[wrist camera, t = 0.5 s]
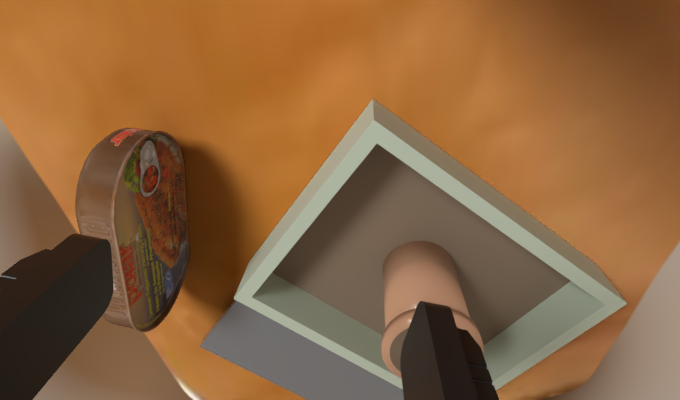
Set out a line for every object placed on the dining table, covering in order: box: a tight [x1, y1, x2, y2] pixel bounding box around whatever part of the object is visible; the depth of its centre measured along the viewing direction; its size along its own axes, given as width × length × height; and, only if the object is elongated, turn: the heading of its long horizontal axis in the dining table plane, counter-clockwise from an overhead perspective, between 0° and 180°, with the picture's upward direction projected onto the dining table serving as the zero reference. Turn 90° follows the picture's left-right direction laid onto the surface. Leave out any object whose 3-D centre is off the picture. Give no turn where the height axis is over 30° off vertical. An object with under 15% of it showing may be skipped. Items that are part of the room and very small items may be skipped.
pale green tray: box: [234, 99, 627, 390], centre depth 31 cm, size 17×22×4 cm
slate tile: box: [200, 299, 404, 400], centre depth 39 cm, size 8×20×1 cm, turn 55°
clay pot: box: [381, 241, 484, 379], centre depth 28 cm, size 6×6×8 cm
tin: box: [75, 128, 190, 332], centre depth 28 cm, size 15×3×8 cm, turn 172°
